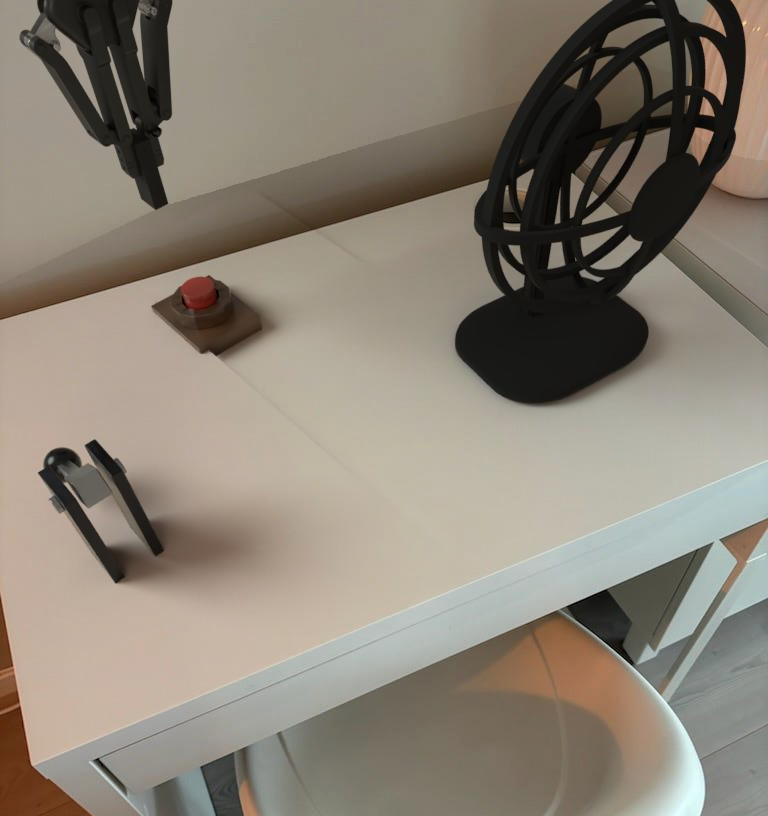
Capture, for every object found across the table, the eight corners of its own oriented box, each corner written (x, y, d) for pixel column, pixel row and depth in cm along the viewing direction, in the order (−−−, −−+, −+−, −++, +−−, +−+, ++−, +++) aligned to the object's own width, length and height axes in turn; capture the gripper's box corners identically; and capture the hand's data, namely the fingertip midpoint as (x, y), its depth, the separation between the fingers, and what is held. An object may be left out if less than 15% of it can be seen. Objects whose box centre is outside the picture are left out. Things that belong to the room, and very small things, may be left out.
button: (178, 299, 83) (174, 286, 82) (205, 285, 85) (202, 272, 83) (196, 314, 82) (192, 301, 80) (223, 299, 83) (220, 286, 82)
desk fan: (503, 453, 73) (554, 73, 45) (405, 351, 82) (394, -18, 54) (704, 344, 81) (856, -40, 52) (594, 262, 90) (672, -103, 61)
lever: (53, 486, 68) (32, 456, 67) (84, 467, 70) (65, 438, 68) (85, 516, 58) (61, 483, 56) (122, 494, 59) (99, 460, 58)
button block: (156, 321, 87) (145, 292, 84) (213, 289, 90) (205, 261, 87) (204, 363, 82) (194, 335, 79) (262, 329, 85) (256, 301, 82)
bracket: (57, 548, 69) (-9, 458, 59) (141, 494, 72) (93, 400, 62) (122, 634, 63) (63, 553, 53) (211, 572, 67) (171, 483, 56)
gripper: (2, -58, 50) (116, 246, 70) (166, -108, 55) (230, 189, 74) (-44, -84, 54) (77, 213, 73) (114, -129, 59) (189, 160, 78)
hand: (154, 201), depth 74 cm, fingers closed
